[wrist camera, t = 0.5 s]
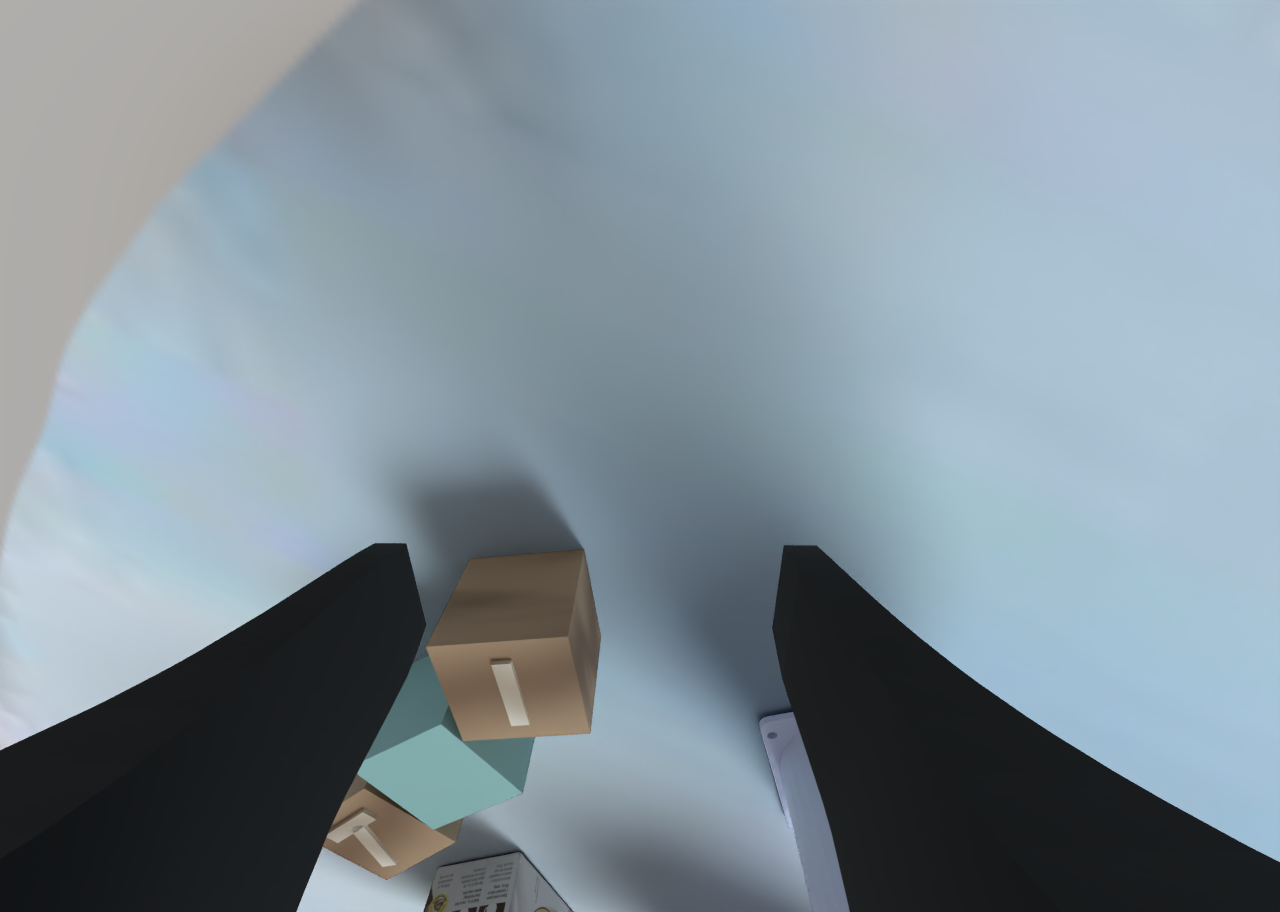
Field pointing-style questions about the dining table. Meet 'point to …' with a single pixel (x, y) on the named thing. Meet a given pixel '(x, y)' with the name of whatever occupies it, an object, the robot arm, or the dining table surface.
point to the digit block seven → (383, 832)
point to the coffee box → (492, 887)
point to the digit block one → (519, 647)
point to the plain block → (440, 757)
